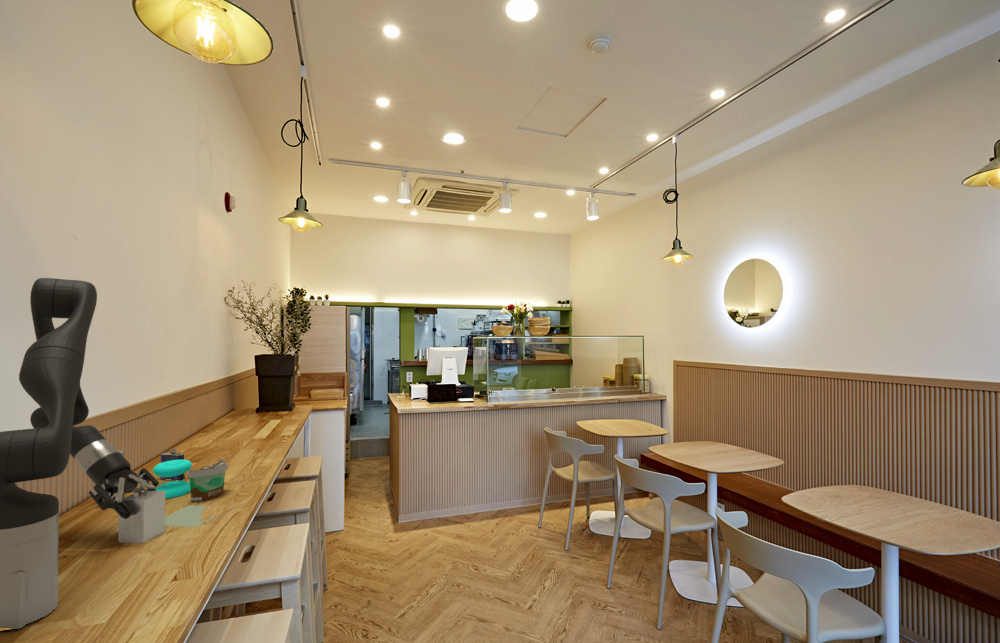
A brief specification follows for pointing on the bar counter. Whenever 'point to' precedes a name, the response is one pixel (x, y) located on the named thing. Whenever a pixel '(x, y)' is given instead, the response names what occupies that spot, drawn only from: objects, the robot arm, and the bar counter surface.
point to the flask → (168, 457)
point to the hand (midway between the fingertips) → (145, 509)
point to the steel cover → (143, 517)
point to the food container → (207, 481)
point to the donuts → (171, 470)
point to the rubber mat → (187, 517)
